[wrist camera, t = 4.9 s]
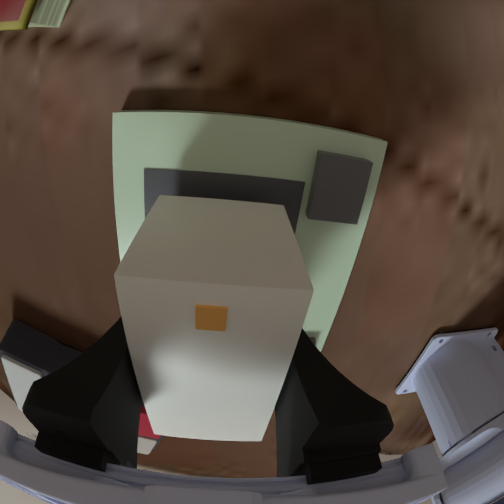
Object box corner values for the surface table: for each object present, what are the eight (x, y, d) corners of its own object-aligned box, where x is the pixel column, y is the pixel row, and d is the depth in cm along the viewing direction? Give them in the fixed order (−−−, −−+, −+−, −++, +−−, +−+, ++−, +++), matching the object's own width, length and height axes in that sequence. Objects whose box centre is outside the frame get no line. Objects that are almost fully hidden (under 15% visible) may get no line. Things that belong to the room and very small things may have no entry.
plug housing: (283, 205, 12) (314, 292, 7) (254, 355, 17) (261, 442, 12) (159, 195, 12) (112, 276, 7) (167, 349, 16) (153, 435, 12)
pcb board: (378, 137, 13) (423, 160, 9) (308, 364, 21) (318, 410, 18) (120, 110, 12) (80, 123, 8) (142, 354, 20) (131, 401, 16)
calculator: (152, 459, 24) (14, 413, 19) (154, 424, 28) (26, 380, 23) (180, 421, 19) (-8, 354, 15) (182, 375, 23) (13, 315, 18)
